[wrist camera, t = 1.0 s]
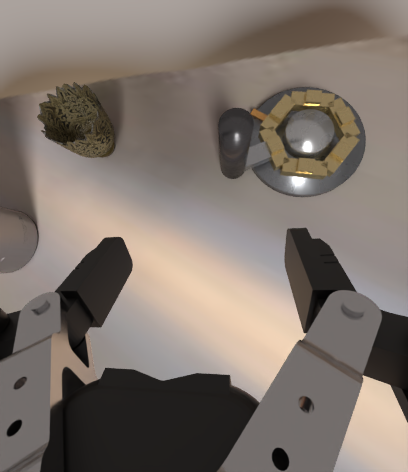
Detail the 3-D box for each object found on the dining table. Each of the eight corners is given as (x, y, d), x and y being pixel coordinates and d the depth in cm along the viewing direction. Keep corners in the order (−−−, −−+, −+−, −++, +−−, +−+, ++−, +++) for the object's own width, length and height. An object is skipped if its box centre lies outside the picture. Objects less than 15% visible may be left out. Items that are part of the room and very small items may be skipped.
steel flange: (271, 214, 29) (276, 208, 26) (229, 118, 31) (229, 103, 28) (381, 170, 28) (400, 159, 25) (330, 76, 31) (341, 56, 28)
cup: (77, 133, 34) (32, 93, 26) (122, 118, 33) (90, 72, 25) (86, 177, 32) (41, 150, 25) (133, 163, 32) (102, 130, 24)
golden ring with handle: (238, 212, 28) (244, 189, 19) (205, 133, 30) (196, 77, 21) (367, 161, 27) (435, 112, 18) (324, 83, 29) (368, 3, 20)
